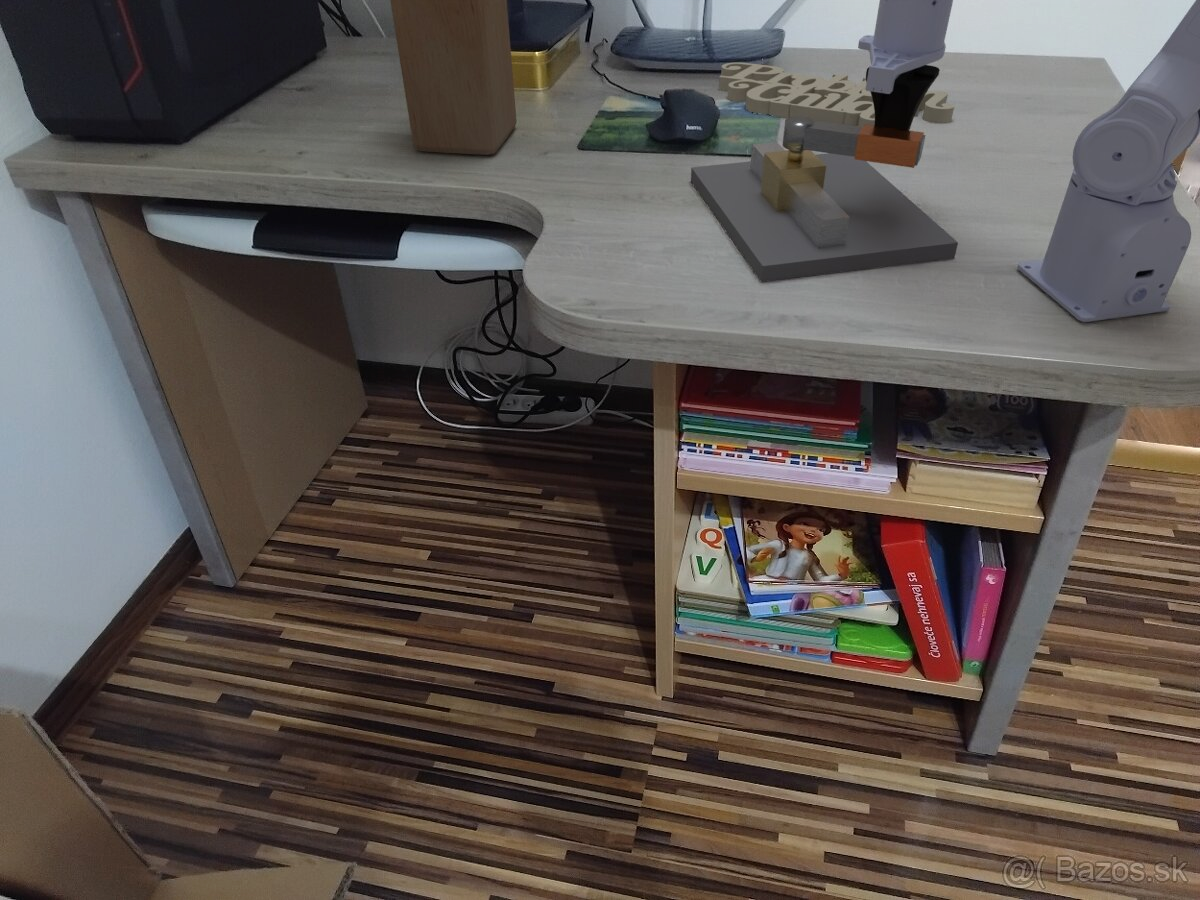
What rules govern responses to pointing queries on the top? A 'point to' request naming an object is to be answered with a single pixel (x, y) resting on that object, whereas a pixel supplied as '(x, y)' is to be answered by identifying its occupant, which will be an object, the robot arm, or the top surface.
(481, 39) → the block
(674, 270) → the top surface
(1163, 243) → the robot arm
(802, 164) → the ball valve
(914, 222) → the mounting board
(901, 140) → the valve lever
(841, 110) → the decorative sign
